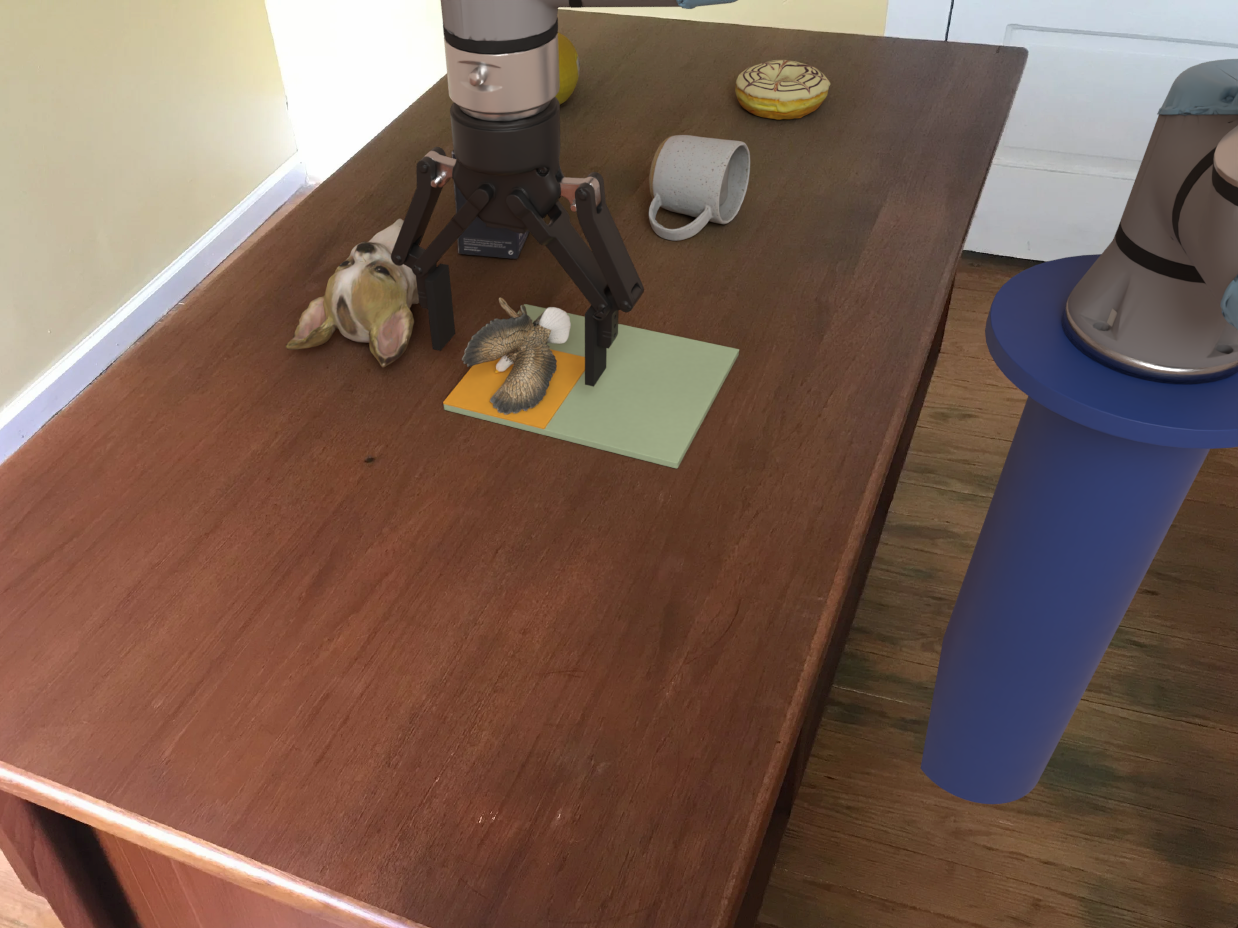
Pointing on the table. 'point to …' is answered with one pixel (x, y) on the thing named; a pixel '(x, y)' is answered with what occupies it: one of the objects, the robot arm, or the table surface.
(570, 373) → the corner mat
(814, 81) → the decorated donut
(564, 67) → the lemon
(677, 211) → the ceramic mug
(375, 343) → the ceramic sculpture
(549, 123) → the robot arm
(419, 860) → the table surface
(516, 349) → the eagle figurine
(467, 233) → the small box
